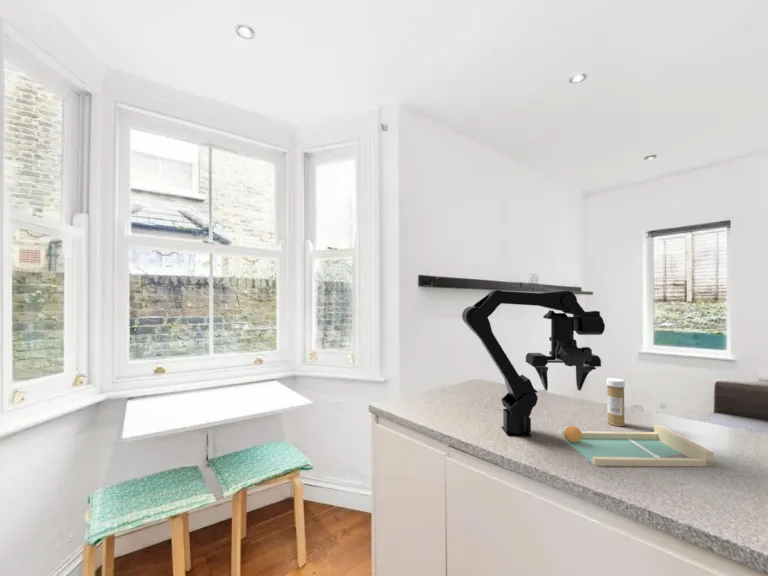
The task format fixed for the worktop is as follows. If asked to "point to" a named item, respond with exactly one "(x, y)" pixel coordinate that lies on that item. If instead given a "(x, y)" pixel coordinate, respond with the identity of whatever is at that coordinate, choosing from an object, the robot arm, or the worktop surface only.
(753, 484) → the worktop surface
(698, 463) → the lane
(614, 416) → the sprinkles bottle
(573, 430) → the ball
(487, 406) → the worktop surface
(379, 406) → the worktop surface
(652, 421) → the worktop surface
